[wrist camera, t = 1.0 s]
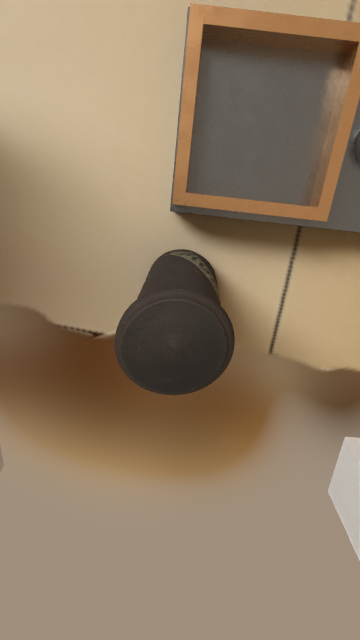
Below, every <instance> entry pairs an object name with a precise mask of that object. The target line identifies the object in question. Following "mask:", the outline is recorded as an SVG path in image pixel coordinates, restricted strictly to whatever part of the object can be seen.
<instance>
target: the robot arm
mask: <svg viewBox="0 0 360 640" xmlns="http://www.w3.org/2000/svg"><path fill="white" fill-rule="evenodd" d="M3 466H4V465H3V459H2V453H1V448H0V471H1V469H2V468H3ZM328 493H329V496H330V498H331V500H332V502H333V504H334V506H335V508H336V511H337V513H338V515H339V517H340V519H341V522H342V524H343V526H344V528H345V530H346V533H347V535H348V537H349V539H350V541H351V543H352V545H353V548H354V550H355V552H356V554H357V556H358V558H359V561H360V438H354V437H345V439H344V442H343V445H342V448H341V451H340V454H339V457H338V460H337V463H336V466H335V469H334V472H333V475H332V478H331V482H330V485H329V488H328Z"/></svg>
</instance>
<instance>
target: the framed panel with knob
mask: <svg viewBox="0 0 360 640" xmlns="http://www.w3.org/2000/svg"><path fill="white" fill-rule="evenodd" d="M170 211H173V212H182V213H191V214H200V215H209V216H218V217H227V218H236V219H244V220H253V221H262V222H271V223H280V224H289V225H298V226H307V227H316V228H325V229H334V230H342V231H351V232H360V23H357V22H348V21H339V20H331V19H322V18H313V17H305V16H296V15H288V14H279V13H270V12H262V11H253V10H244V9H236V8H227V7H218V6H210V5H201V4H192V3H190V7H188V15H187V26H186V38H185V49H184V60H183V72H182V83H181V94H180V106H179V117H178V128H177V140H176V151H175V162H174V174H173V185H172V196H171V207H170Z"/></svg>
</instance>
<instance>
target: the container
mask: <svg viewBox="0 0 360 640" xmlns="http://www.w3.org/2000/svg"><path fill="white" fill-rule="evenodd" d="M234 340H235V339H234V331H233V327H232V323H231V321H230V319H229V317H228V315H227V313H226V312H225V310H224V309H223V308H222V307H221V303H220V298H219V293H218V288H217V281H216V276H215V273H214V270H213V268H212V266H211V265H210V263H209V262H208V261H207V260H206V259H205V258H204V257H202V256H201V255H199V254H197V253H195V252H193V251H190V250H173V251H169V252H167V253H165V254H163V255H162V256H160V257H159V258H158V259H157V260H156V261H155V262H154V264H153V266H152V267H151V269H150V271H149V273H148V276H147V278H146V281H145V283H144V285H143V287H142V289H141V292H140V294H139V296H138V298H137V300H136V301H135V302H133V303H132V304H131V305H130V306H129V308H128V309H127V310H126V311H125V313H124V314H123V316H122V318H121V320H120V322H119V325H118V327H117V331H116V336H115V352H116V357H117V360H118V362H119V365H120V367H121V368H122V370H123V371H124V373H125V374H126V375H127V376H128V377H129V378H130V379H131V380H132V381H133V382H134V383H136V384H137V385H139V386H140V387H142V388H144V389H146V390H149V391H152V392H156V393H159V394H167V395H181V394H187V393H191V392H195V391H198V390H200V389H202V388H204V387H206V386H208V385H209V384H211V383H212V382H214V381H215V380H216V379H217V378H218V377H219V376H220V375H221V374H222V373H223V372H224V370H225V369H226V368H227V366H228V364H229V362H230V360H231V357H232V354H233V350H234Z"/></svg>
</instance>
